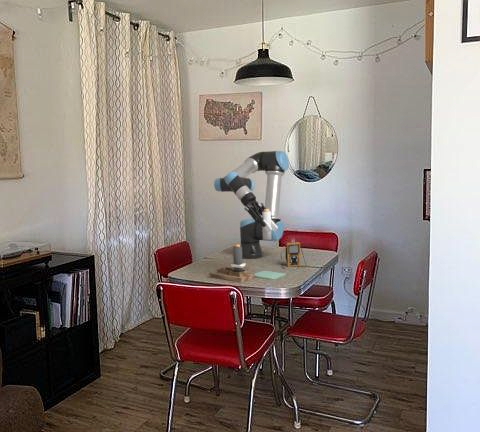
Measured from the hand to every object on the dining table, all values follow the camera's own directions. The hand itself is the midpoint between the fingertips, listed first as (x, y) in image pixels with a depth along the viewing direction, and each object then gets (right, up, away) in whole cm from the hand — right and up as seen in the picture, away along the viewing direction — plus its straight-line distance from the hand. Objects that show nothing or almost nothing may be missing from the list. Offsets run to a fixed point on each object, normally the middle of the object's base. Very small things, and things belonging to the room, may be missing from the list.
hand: (273, 230), depth 245 cm
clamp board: (-20, -24, +3) cm, 32 cm away
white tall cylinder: (-3, -5, +3) cm, 6 cm away
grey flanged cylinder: (-17, -22, +1) cm, 28 cm away
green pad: (-2, -23, +5) cm, 24 cm away
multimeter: (+14, -21, +22) cm, 33 cm away
